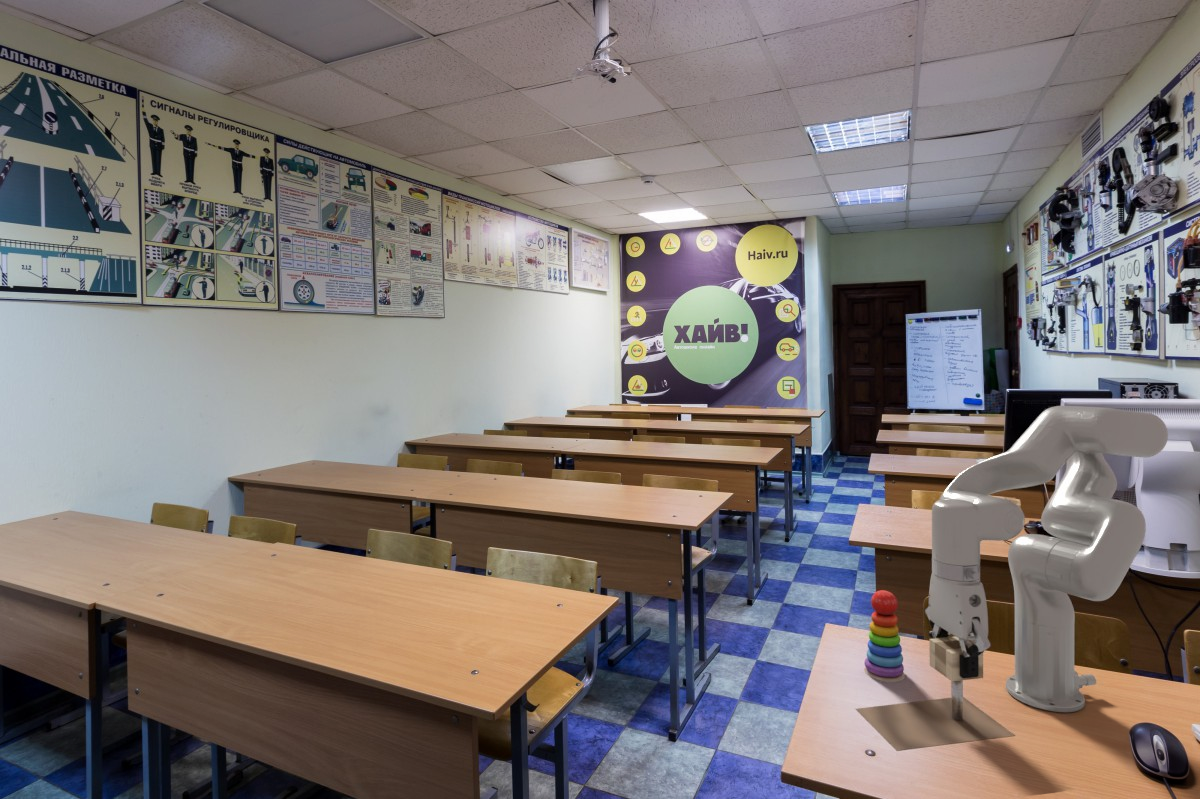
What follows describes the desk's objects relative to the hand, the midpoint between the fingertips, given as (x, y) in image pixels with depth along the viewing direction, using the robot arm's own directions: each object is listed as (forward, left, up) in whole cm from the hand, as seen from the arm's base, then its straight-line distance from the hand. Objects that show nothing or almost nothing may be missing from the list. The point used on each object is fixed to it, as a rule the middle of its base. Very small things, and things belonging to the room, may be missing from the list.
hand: (955, 666), depth 113 cm
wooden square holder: (0, 0, -1) cm, 1 cm away
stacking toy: (+3, -18, -11) cm, 22 cm away
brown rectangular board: (+5, 0, -11) cm, 12 cm away
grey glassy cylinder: (0, 0, -10) cm, 10 cm away
